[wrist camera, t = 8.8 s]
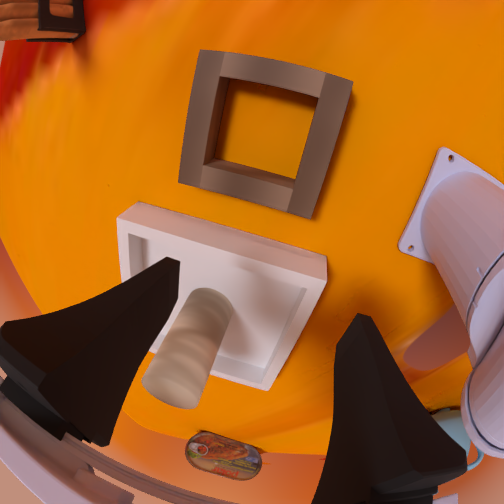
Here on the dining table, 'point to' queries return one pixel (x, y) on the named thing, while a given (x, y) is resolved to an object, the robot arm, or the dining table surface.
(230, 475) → the tin
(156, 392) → the dowel
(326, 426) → the dining table surface
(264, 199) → the frame
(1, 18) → the ammunition clip
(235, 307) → the tray
